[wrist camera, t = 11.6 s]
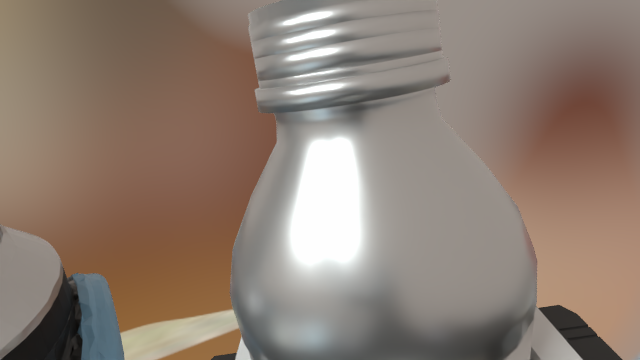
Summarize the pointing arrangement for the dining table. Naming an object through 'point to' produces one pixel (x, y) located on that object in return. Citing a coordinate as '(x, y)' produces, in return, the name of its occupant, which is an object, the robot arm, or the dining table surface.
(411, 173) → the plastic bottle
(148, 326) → the dining table surface
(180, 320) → the dining table surface
